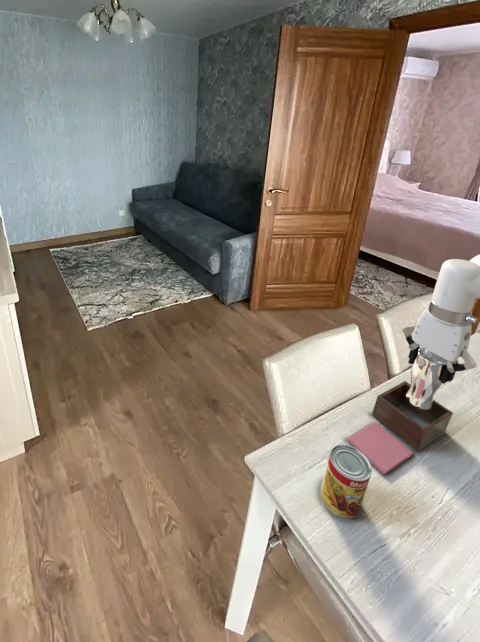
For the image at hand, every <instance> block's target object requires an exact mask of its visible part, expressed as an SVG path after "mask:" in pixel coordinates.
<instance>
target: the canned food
mask: <svg viewBox="0 0 480 642" xmlns="http://www.w3.org/2000/svg"><path fill="white" fill-rule="evenodd" d="M372 473H373V467H372V463H371V462H370V461H369V460H368V459H367V457H366V456H365V455H364V454H363V453H362V452H360V451H359V450H358V449H356V448H355V447H354V446H353V445H349V444H344V443H341V444H336V445H334V446H333V447H332V448H331V450H330V452H329V456H328V460H327V464H326V467H325V471H324V474H323V475H324V476H323V479H322V483H321V487H320V496H321V500H322V502H323V504H324V505H325V506H326V508H327V509H328V510H329V511H330V512H331V513H332V514H334V515H335V516H337V517H340V518H341V519H353V518H355V517H357V515H358V514H359V512H360V510H361V507H362V504H363V501H364V498H365V494H366V491H367V489H368V485H369V483H370V480H371V477H372Z"/></svg>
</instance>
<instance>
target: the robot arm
mask: <svg viewBox="0 0 480 642" xmlns="http://www.w3.org/2000/svg"><path fill="white" fill-rule="evenodd" d="M437 276H438V277H437V280H436V282H435V285H434V288H433V293H432V296H431V299H430V303H429V305H428V306H427V307H426V308H425V309H424V310H423V311H422V313H421V315H420V316H419V319H418V320H417V322H416V325H415V326H408V327H404V328H402V333H403V335H404V337H405V340H406V343H407V344H408V348H409V353H408V357H407V358H408V364H409V365H413V361H414V359H415V356H416V354H417V352H418V349H419V348H422V347H423V348H425V349H427V350H429V351H431V352H433V353H434V354H436V355H438V356H440V357H442V358H444V359H445V360H446V364H447V369H445V370H444V373H443V375H442V378H441V381H440V382H441V383H442V385H445V384H446V383H448V382H449V383H450V382H452V381H454V377H455V375H456V373H457V372H464V371H468V370H472V369H473V370H474V369H475V368H476V367H477V366H478V364H477V363H476V361H475V360H474V359H473V357H472V356H471V354H470V353H469V352H468V350H469V345H470V341H471V336H472V329H473V328H472V327H473V326H472V325H473V324H476V323H477V321H478V318H477V317H475V316H474V315H473V314H472V313H473V307H474V305H475V302H476V299H480V254H478V255H475V256H474V257H472V258H471V259H470V260H467V259H460V258H450V259H447V260H445V261H443V262H442V264H441V267H440V270H439V273H438V275H437ZM460 358H462V360H463V361H464V362H463V363H460V362H459V359H460Z"/></svg>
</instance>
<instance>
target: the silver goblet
mask: <svg viewBox="0 0 480 642" xmlns="http://www.w3.org/2000/svg"><path fill="white" fill-rule="evenodd" d="M445 369H447V364H446V360H445V359H444V358H442V357H440V356H438V355H436V354H434V353H433V352H431V351H429V350H427V349H425V348H423V347H422V346H421V347H420V348H419V349H418V352H417V354H416V356H415V359H414V361H413V364H411V371H410V383H409V384H410V387H409V389H408V391H407V392H406V394H405V399H406V401H407V402H408V403H409V404H410V405H412V406H413V407H415V408H417V409H420V410H425V411H427V410H430V409H432V407H433V400H434V398H435V395H436V393H437V392H438V390H439V389H440V388H441V387H442V385H443V383H441V382H440V381H441V378H442V375H443V373H444V370H445Z"/></svg>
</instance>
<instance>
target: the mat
mask: <svg viewBox="0 0 480 642" xmlns="http://www.w3.org/2000/svg"><path fill="white" fill-rule="evenodd" d="M347 442H348V443H349V444H351V446H352V447H354V448H356V449H358V450H359V451H360V452H362V453H363V454H364V455H365V456H366V457H367V459H368V460H369V462H370V464H371V465H373V466H374V467H375V468H376V469H377V470H378V471H379V472H380V473H381V474H382V475H384V476H385V475H387V474H388V473H390V472H391V471H392V470H394V469H395V468H396V467H398V466H400V465H401V464H402V463H404V462H405V461H406V460H408V459H409V458H411V457H412V456H413V455H414V452H413V451H412V450H410V449H409V448H408V447H407V445H405V444H403V443H402V442H401V441H400V440H398V439H397V438H396V437H395V436H394V435H392V434H391V433H390V432H389V431H388V430H387V429H385V428H384V427H383V426H382V425H380V424H379V423H378V422H377V421H375V422H372V423H371V424H370V425H368V426H366V427H365V428H363V429H361V430H360V431H358V432H356V433H354V434H352V435H351V436H350V437H348V438H347Z"/></svg>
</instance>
